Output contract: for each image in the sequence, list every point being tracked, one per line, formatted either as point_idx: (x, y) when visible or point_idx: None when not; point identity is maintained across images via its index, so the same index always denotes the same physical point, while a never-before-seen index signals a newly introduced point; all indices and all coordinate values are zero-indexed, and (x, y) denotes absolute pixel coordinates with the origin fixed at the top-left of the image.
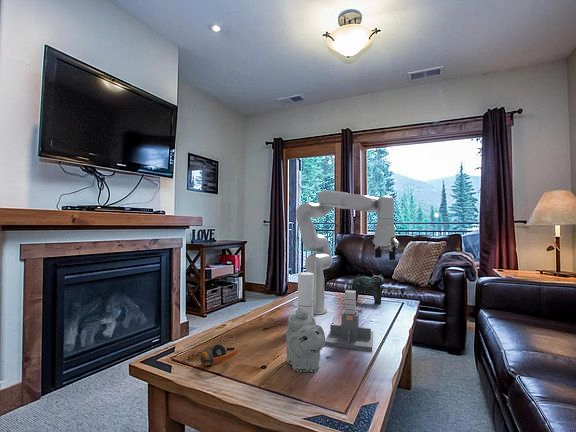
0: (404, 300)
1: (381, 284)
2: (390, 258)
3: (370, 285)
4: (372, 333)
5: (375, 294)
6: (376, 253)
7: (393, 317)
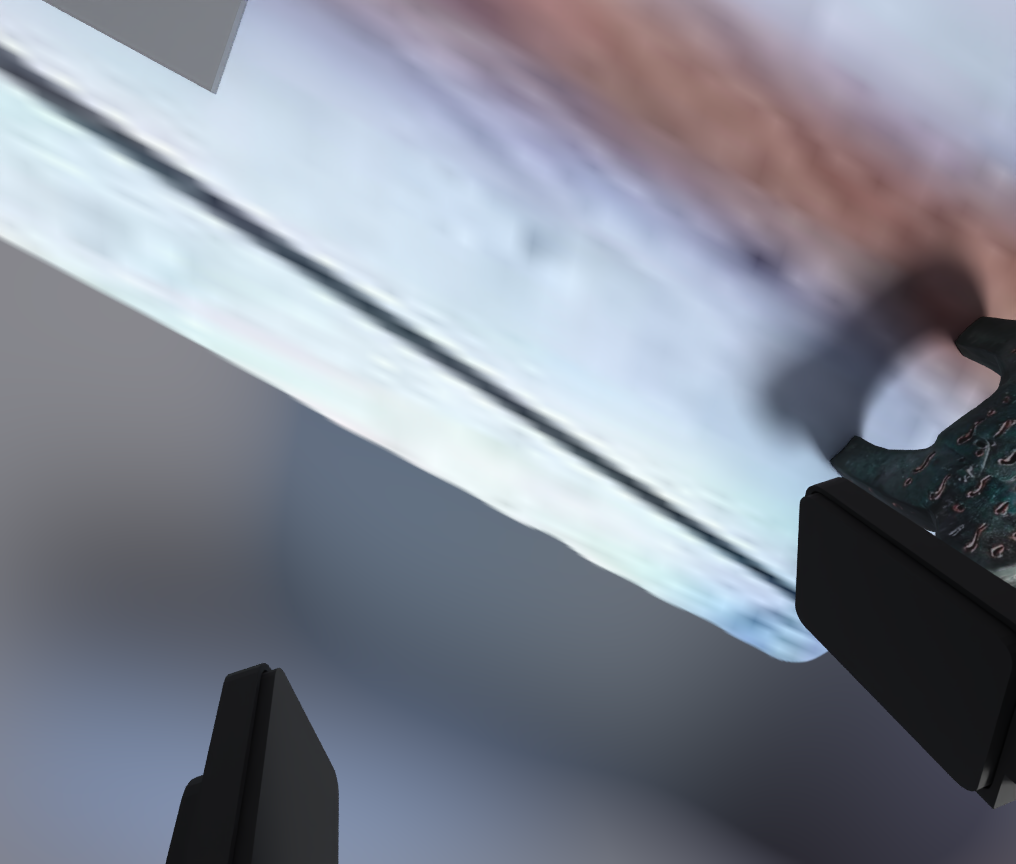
0: None
1: None
2: (226, 721)
3: (983, 466)
4: (157, 56)
5: (899, 467)
6: (890, 563)
7: (575, 434)
